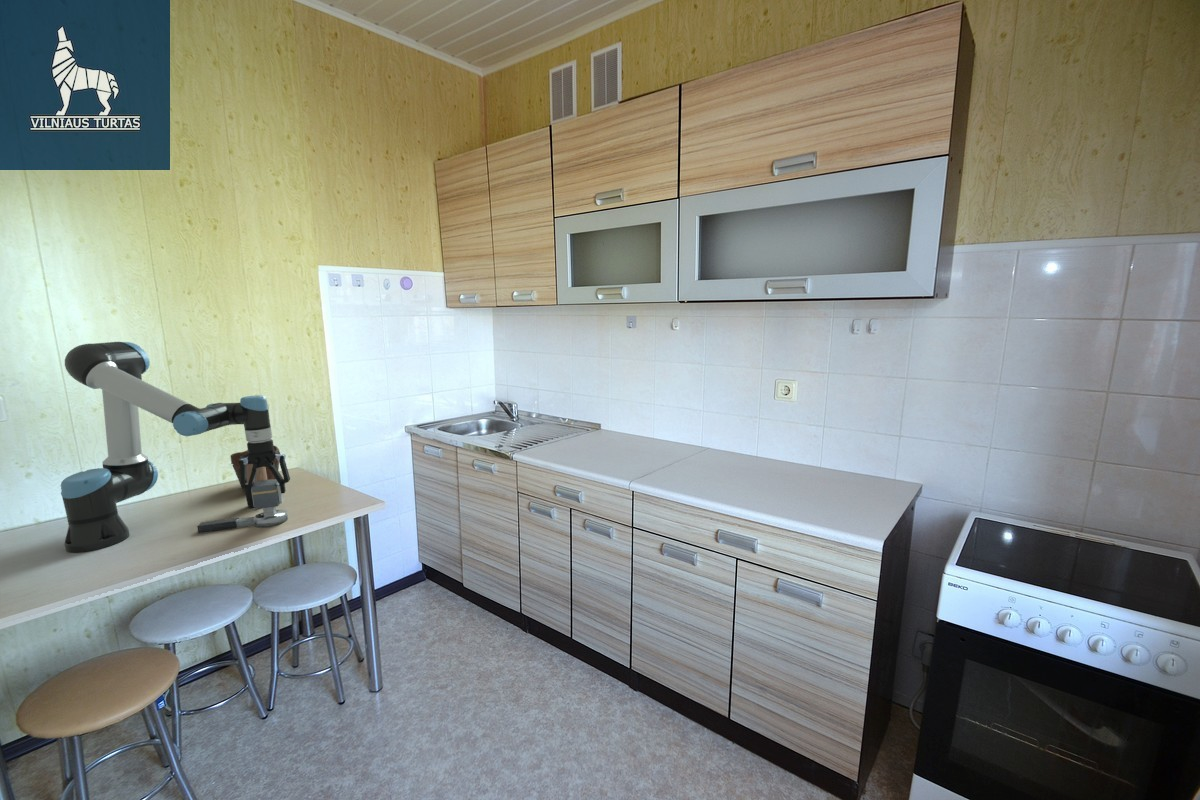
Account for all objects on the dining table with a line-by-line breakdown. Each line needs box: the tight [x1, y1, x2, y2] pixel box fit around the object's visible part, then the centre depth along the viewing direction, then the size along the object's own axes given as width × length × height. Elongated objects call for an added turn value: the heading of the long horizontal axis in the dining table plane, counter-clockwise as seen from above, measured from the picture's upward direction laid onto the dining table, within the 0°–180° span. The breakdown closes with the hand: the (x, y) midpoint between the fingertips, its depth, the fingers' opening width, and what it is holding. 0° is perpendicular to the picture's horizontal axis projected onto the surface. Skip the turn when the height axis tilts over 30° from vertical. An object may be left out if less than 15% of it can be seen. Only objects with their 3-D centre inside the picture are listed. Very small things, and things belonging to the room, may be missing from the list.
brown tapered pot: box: [229, 445, 282, 492], centre depth 219 cm, size 18×20×18 cm
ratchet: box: [197, 507, 289, 534], centre depth 178 cm, size 26×10×8 cm, turn 109°
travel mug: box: [240, 454, 267, 510], centre depth 196 cm, size 8×8×20 cm
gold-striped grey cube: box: [251, 479, 280, 510], centre depth 180 cm, size 7×7×8 cm
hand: (269, 503), depth 180 cm, fingers closed on gold-striped grey cube, 7 cm apart
